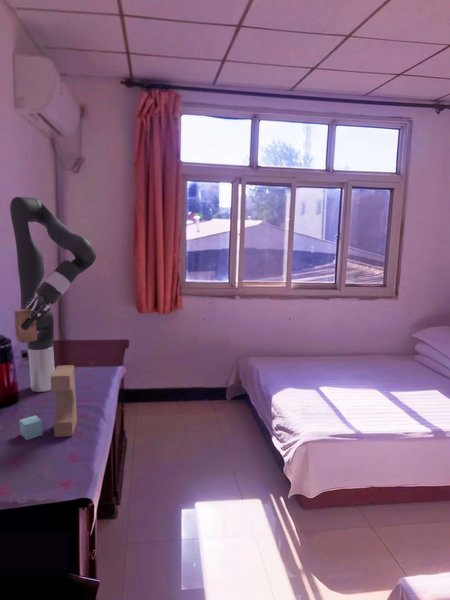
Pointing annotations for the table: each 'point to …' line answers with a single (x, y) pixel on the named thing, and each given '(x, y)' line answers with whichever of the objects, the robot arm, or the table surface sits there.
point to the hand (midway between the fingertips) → (20, 327)
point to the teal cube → (31, 427)
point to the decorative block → (64, 400)
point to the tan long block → (21, 333)
